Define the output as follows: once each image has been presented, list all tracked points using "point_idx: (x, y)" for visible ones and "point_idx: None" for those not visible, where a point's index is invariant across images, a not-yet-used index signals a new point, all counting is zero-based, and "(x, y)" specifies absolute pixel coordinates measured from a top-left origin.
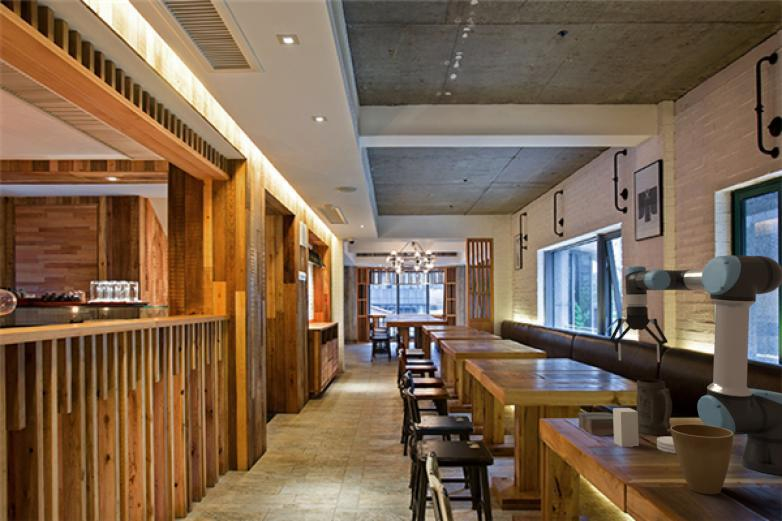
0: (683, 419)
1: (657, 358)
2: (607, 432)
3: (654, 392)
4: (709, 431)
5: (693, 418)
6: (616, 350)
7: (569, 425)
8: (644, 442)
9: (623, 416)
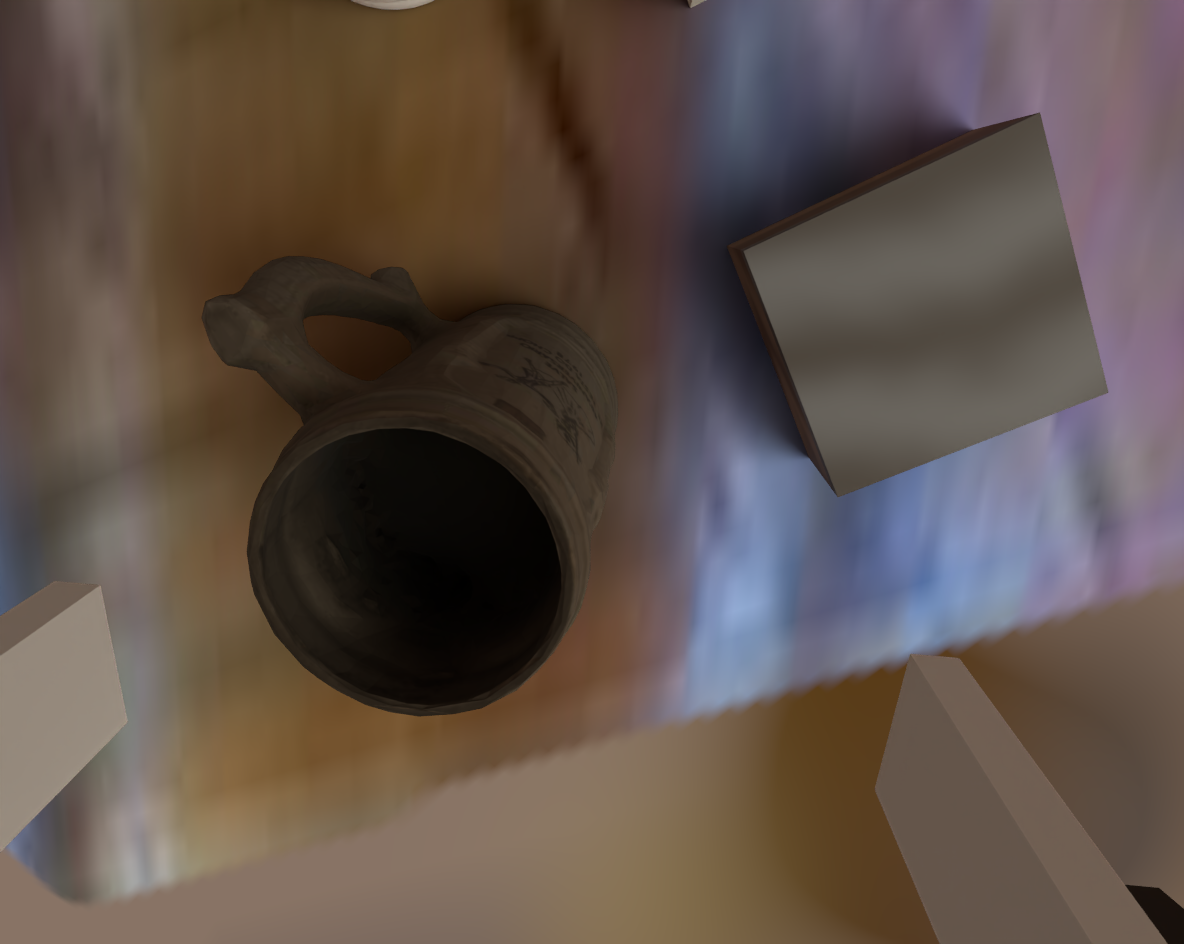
0: (330, 797)
1: (33, 634)
2: (849, 190)
3: (402, 379)
4: None
5: (278, 835)
6: (1161, 915)
7: (1106, 397)
8: (585, 38)
9: None
